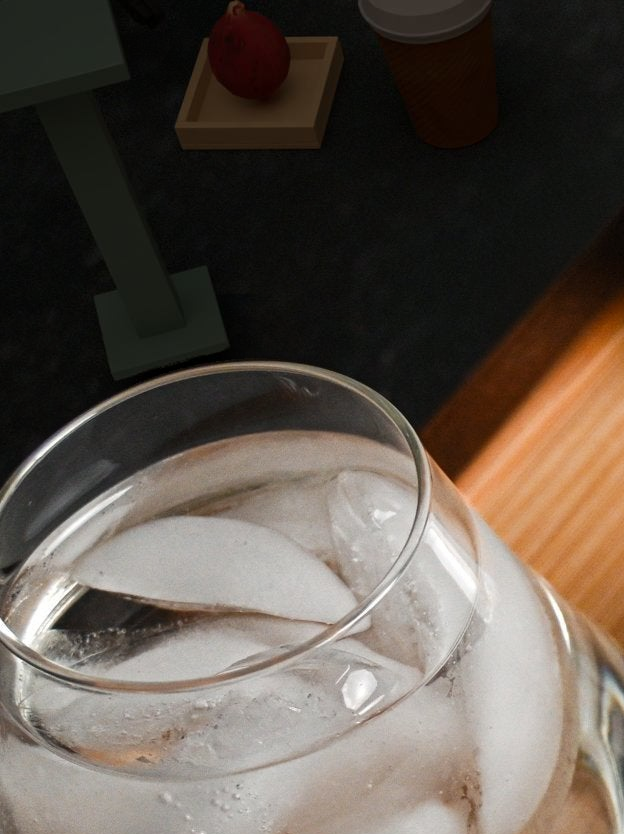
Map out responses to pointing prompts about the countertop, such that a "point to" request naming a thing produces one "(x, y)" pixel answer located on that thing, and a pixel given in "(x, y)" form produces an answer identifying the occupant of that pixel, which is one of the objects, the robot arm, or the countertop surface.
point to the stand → (104, 181)
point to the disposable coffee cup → (440, 65)
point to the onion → (248, 53)
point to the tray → (264, 103)
